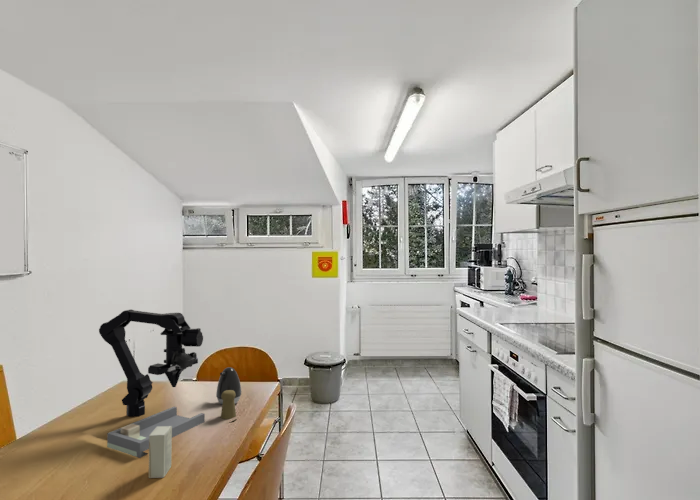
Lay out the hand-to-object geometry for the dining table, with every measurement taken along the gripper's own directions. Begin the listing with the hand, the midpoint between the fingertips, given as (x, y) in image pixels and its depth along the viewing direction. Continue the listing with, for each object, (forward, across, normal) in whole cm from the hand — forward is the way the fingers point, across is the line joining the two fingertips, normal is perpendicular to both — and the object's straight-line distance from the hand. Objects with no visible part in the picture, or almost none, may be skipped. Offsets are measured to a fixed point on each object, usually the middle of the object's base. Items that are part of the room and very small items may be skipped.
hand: (174, 386), depth 155 cm
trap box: (+12, -13, -8) cm, 19 cm away
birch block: (+10, -21, -4) cm, 24 cm away
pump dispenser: (+12, +21, -8) cm, 26 cm away
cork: (+12, +8, -20) cm, 25 cm away
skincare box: (+12, -29, -29) cm, 43 cm away
